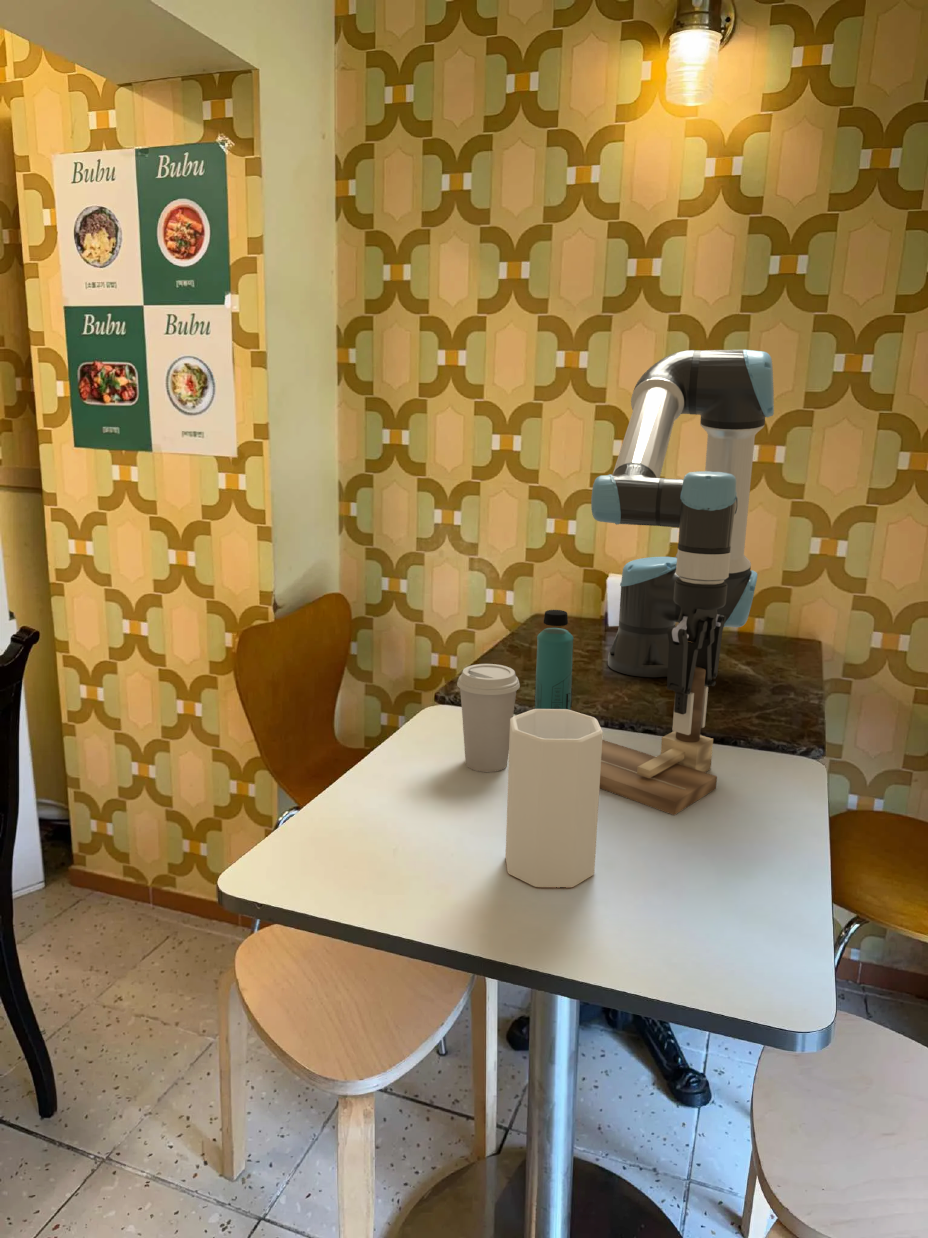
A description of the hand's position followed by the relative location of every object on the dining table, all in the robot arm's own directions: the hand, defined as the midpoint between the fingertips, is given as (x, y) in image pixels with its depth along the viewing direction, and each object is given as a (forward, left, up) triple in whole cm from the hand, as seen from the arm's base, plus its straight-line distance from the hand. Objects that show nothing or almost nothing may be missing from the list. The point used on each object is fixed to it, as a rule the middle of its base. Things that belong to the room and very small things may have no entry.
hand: (688, 728), depth 138 cm
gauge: (+5, 0, -7) cm, 8 cm away
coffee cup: (+21, -23, -7) cm, 32 cm away
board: (+10, -6, -7) cm, 13 cm away
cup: (+39, +3, -7) cm, 39 cm away
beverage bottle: (-1, -27, -7) cm, 28 cm away
